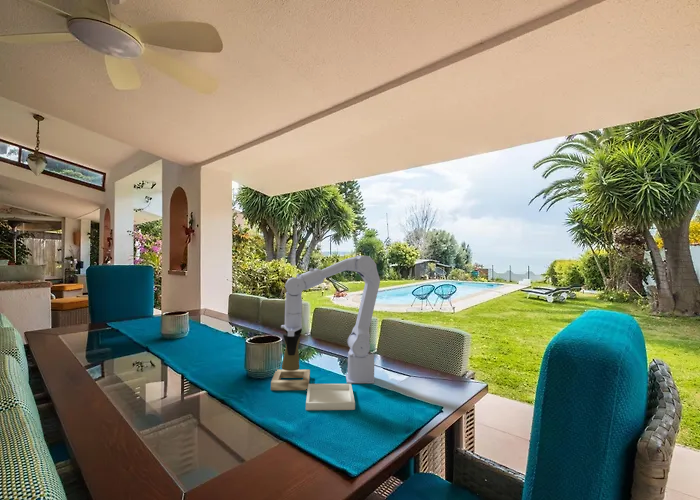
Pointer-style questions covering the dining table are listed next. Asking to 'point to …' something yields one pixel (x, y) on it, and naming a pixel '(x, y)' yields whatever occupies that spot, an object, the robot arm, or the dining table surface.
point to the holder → (290, 384)
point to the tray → (330, 397)
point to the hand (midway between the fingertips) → (292, 352)
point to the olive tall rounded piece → (291, 359)
